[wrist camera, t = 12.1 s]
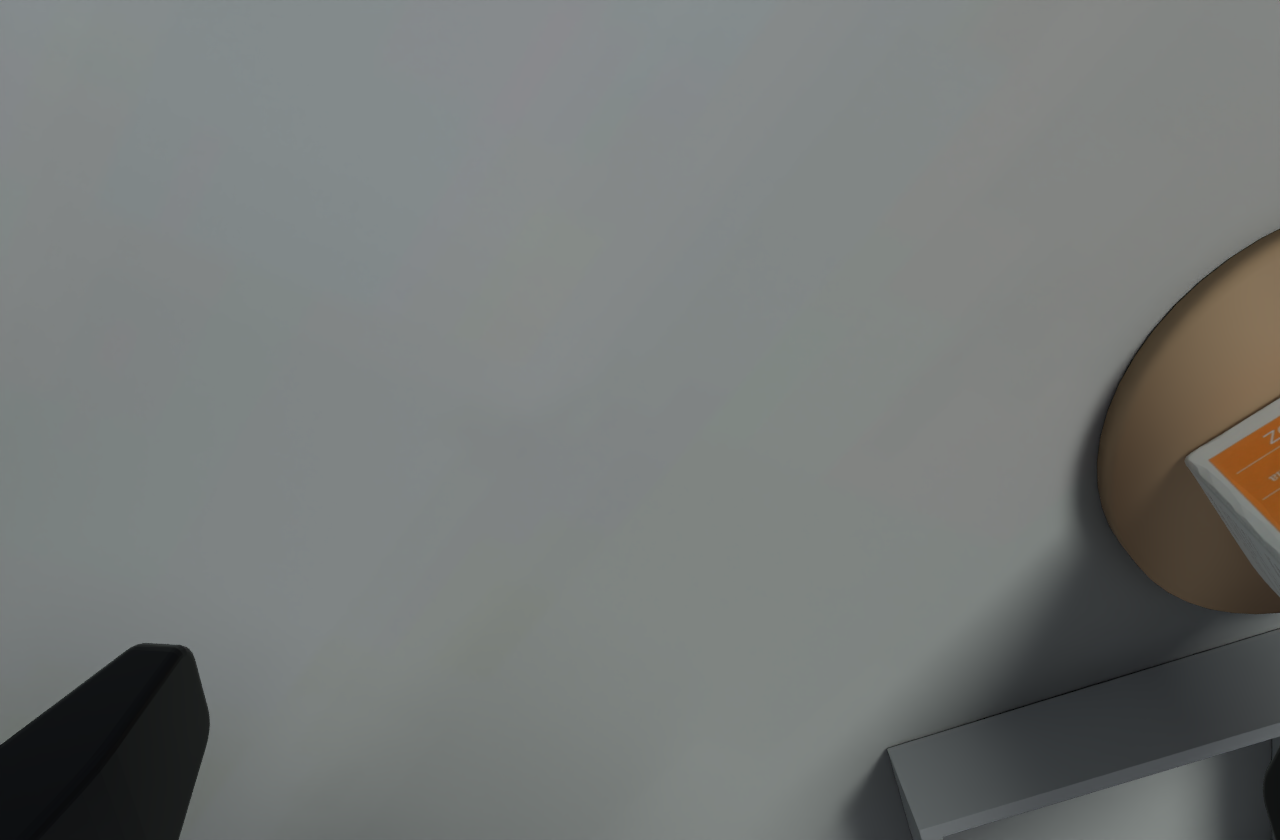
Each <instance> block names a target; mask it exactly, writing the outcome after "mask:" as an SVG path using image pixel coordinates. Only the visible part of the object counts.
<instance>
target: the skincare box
mask: <svg viewBox="0 0 1280 840" xmlns="http://www.w3.org/2000/svg"><path fill="white" fill-rule="evenodd" d="M1184 462H1185V464H1186V466H1187V467H1188V468H1189V470H1190V471H1191V473H1192V474H1193V475H1194V477H1195V478H1196V480H1197V481H1198V483H1199V484H1200V486H1201V488H1202V489H1203V491H1204V492H1205V494H1206V495H1207V497H1208V498H1209V500H1210V502H1211V503H1212V505H1213V506H1214V508H1215V509H1216V511H1217V513H1218V514H1219V516H1220V517H1221V519H1222V520H1223V522H1224V523H1225V525H1226V527H1227V528H1228V530H1229V531H1230V533H1231V534H1232V536H1233V537H1234V539H1235V540H1236V542H1237V543H1238V545H1239V546H1240V548H1241V549H1242V551H1243V552H1244V554H1245V555H1246V557H1247V558H1248V560H1249V561H1250V563H1251V565H1252V566H1253V567H1254V568H1255V570H1256V571H1257V572H1258V573H1259V575H1260V576H1261V577H1262V578H1263V580H1264V581H1265V582H1266V583H1267V584H1268V585H1269V586H1270V587H1271V589H1272V590H1273V591H1274V592H1275V593H1276V594H1277V595H1278V596H1279V597H1280V398H1279V399H1277V400H1276V401H1274V402H1272V403H1271V404H1269V405H1267V406H1266V407H1264V408H1263V409H1261V410H1259V411H1258V412H1256V413H1255V414H1253V415H1251V416H1250V417H1248V418H1246V419H1245V420H1243V421H1242V422H1240V423H1239V424H1237V425H1235V426H1234V427H1232V428H1231V429H1229V430H1227V431H1226V432H1224V433H1223V434H1221V435H1219V436H1218V437H1216V438H1214V439H1213V440H1211V441H1209V442H1208V443H1206V444H1204V445H1203V446H1201V447H1199V448H1198V449H1196V450H1195V451H1193V452H1191V453H1190V454H1189V455H1188V456H1186V458H1185V461H1184Z"/></svg>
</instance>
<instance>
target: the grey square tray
mask: <svg viewBox="0 0 1280 840" xmlns="http://www.w3.org/2000/svg"><path fill="white" fill-rule="evenodd" d="M1270 739H1272V759H1273V757H1274V756H1275V754H1276V752H1277V750H1278V748H1279V746H1280V629H1278V630H1274V631H1271V632H1268V633H1265V634H1261V635H1258V636H1255V637H1251V638H1248V639H1245V640H1242V641H1238V642H1235V643H1232V644H1229V645H1225V646H1222V647H1219V648H1215V649H1212V650H1209V651H1206V652H1202V653H1199V654H1196V655H1192V656H1189V657H1186V658H1183V659H1179V660H1176V661H1173V662H1170V663H1166V664H1163V665H1160V666H1156V667H1153V668H1150V669H1147V670H1143V671H1140V672H1137V673H1133V674H1130V675H1127V676H1124V677H1120V678H1117V679H1114V680H1111V681H1107V682H1104V683H1101V684H1097V685H1094V686H1091V687H1088V688H1084V689H1081V690H1078V691H1074V692H1071V693H1068V694H1065V695H1061V696H1058V697H1055V698H1052V699H1048V700H1045V701H1042V702H1038V703H1035V704H1032V705H1029V706H1025V707H1022V708H1019V709H1015V710H1012V711H1009V712H1006V713H1002V714H999V715H996V716H993V717H989V718H986V719H983V720H979V721H976V722H973V723H970V724H966V725H963V726H960V727H956V728H953V729H950V730H947V731H943V732H940V733H937V734H934V735H930V736H927V737H924V738H920V739H917V740H914V741H911V742H907V743H904V744H901V745H897V746H894V747H891V748H888V749H887V750H888V754H889V757H890V761H891V764H892V768H893V771H894V775H895V778H896V782H897V785H898V789H899V792H900V796H901V799H902V803H903V806H904V810H905V813H906V817H907V820H908V824H909V827H910V831H911V834H912V838H913V840H944V839H943V837H944V836H948V835H951V834H955V833H958V832H961V831H965V830H968V829H971V828H975V827H978V826H981V825H985V824H988V823H991V822H995V821H998V820H1001V819H1005V818H1008V817H1011V816H1015V815H1018V814H1022V813H1025V812H1028V811H1032V810H1035V809H1038V808H1042V807H1045V806H1048V805H1052V804H1055V803H1058V802H1062V801H1065V800H1068V799H1072V798H1075V797H1078V796H1082V795H1085V794H1089V793H1092V792H1095V791H1099V790H1102V789H1105V788H1109V787H1112V786H1115V785H1119V784H1122V783H1125V782H1129V781H1132V780H1135V779H1139V778H1142V777H1146V776H1149V775H1152V774H1156V773H1159V772H1162V771H1166V770H1169V769H1172V768H1176V767H1179V766H1182V765H1186V764H1189V763H1192V762H1196V761H1199V760H1202V759H1206V758H1209V757H1213V756H1216V755H1219V754H1223V753H1226V752H1229V751H1233V750H1236V749H1239V748H1243V747H1246V746H1249V745H1253V744H1256V743H1259V742H1263V741H1266V740H1270ZM1272 840H1275V838H1274V834H1273V831H1272Z"/></svg>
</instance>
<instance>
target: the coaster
mask: <svg viewBox="0 0 1280 840" xmlns="http://www.w3.org/2000/svg"><path fill="white" fill-rule="evenodd" d="M1279 398H1280V229H1279V230H1277V231H1275V232H1273V233H1271V234H1269V235H1267V236H1265V237H1263V238H1261V239H1260V240H1258V241H1257V242H1255V243H1253V244H1252V245H1250V246H1249V247H1247V248H1246V249H1244V250H1242V251H1241V252H1239V253H1238V254H1236V255H1235V256H1233V257H1231V258H1230V259H1229V260H1228V261H1226V262H1225V263H1224V264H1222V265H1221V266H1220V267H1218V268H1217V269H1216V270H1215V271H1213V272H1212V273H1211V274H1209V275H1208V276H1207V277H1206V278H1204V279H1203V280H1202V281H1201V282H1200V283H1199V284H1198V285H1196V286H1195V287H1194V288H1193V289H1192V290H1191V291H1190V292H1189V293H1188V294H1187V295H1186V296H1185V297H1184V298H1183V299H1182V300H1180V301H1179V302H1178V303H1177V304H1176V305H1175V306H1174V308H1173V309H1172V310H1171V311H1170V312H1169V313H1168V314H1167V316H1166V317H1165V318H1164V319H1163V320H1162V321H1161V322H1160V323H1159V325H1158V326H1157V327H1156V328H1155V329H1154V330H1153V332H1152V333H1151V335H1150V336H1149V337H1148V339H1147V340H1146V341H1145V343H1144V344H1143V346H1142V347H1141V348H1140V350H1139V351H1138V353H1137V354H1136V355H1135V357H1134V359H1133V360H1132V362H1131V364H1130V366H1129V367H1128V369H1127V371H1126V373H1125V374H1124V376H1123V378H1122V380H1121V382H1120V383H1119V385H1118V388H1117V390H1116V393H1115V395H1114V397H1113V400H1112V402H1111V404H1110V407H1109V409H1108V412H1107V415H1106V419H1105V423H1104V426H1103V430H1102V433H1101V437H1100V444H1099V452H1098V459H1097V478H1098V490H1099V495H1100V500H1101V505H1102V509H1103V511H1104V514H1105V516H1106V519H1107V521H1108V524H1109V526H1110V528H1111V530H1112V531H1113V533H1114V534H1115V536H1116V537H1117V539H1118V541H1119V542H1120V544H1121V545H1122V546H1123V547H1124V549H1125V550H1126V551H1127V553H1128V554H1129V555H1130V556H1131V558H1132V559H1133V560H1134V561H1135V563H1136V564H1137V565H1138V566H1139V567H1140V568H1141V569H1142V571H1143V572H1144V573H1145V574H1146V575H1147V576H1148V577H1149V578H1150V579H1151V580H1152V581H1153V582H1155V583H1156V584H1157V585H1159V586H1160V587H1162V588H1163V589H1164V590H1166V591H1167V592H1168V593H1170V594H1172V595H1174V596H1176V597H1178V598H1180V599H1182V600H1184V601H1186V602H1189V603H1192V604H1195V605H1198V606H1201V607H1205V608H1208V609H1212V610H1218V611H1224V612H1230V613H1245V614H1266V613H1280V597H1279V596H1278V595H1277V594H1276V593H1275V592H1274V591H1273V590H1272V589H1271V587H1270V586H1269V585H1268V584H1267V583H1266V582H1265V581H1264V580H1263V578H1262V577H1261V576H1260V575H1259V573H1258V572H1257V571H1256V570H1255V568H1254V567H1253V566H1252V565H1251V563H1250V561H1249V560H1248V558H1247V557H1246V555H1245V554H1244V552H1243V551H1242V549H1241V548H1240V546H1239V545H1238V543H1237V542H1236V540H1235V539H1234V537H1233V536H1232V534H1231V533H1230V531H1229V530H1228V528H1227V527H1226V525H1225V523H1224V522H1223V520H1222V519H1221V517H1220V516H1219V514H1218V513H1217V511H1216V509H1215V508H1214V506H1213V505H1212V503H1211V502H1210V500H1209V498H1208V497H1207V495H1206V494H1205V492H1204V491H1203V489H1202V488H1201V486H1200V484H1199V483H1198V481H1197V480H1196V478H1195V477H1194V475H1193V474H1192V473H1191V471H1190V470H1189V468H1188V467H1187V466H1186V464H1185V462H1184V461H1185V458H1186V456H1188V455H1189V454H1190V453H1191V452H1193V451H1195V450H1196V449H1198V448H1199V447H1201V446H1203V445H1204V444H1206V443H1208V442H1209V441H1211V440H1213V439H1214V438H1216V437H1218V436H1219V435H1221V434H1223V433H1224V432H1226V431H1227V430H1229V429H1231V428H1232V427H1234V426H1235V425H1237V424H1239V423H1240V422H1242V421H1243V420H1245V419H1246V418H1248V417H1250V416H1251V415H1253V414H1255V413H1256V412H1258V411H1259V410H1261V409H1263V408H1264V407H1266V406H1267V405H1269V404H1271V403H1272V402H1274V401H1276V400H1277V399H1279Z"/></svg>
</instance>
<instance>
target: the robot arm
mask: <svg viewBox="0 0 1280 840" xmlns="http://www.w3.org/2000/svg"><path fill="white" fill-rule="evenodd" d="M209 726H210V719H209V711H208V707H207V703H206V699H205V695H204V692H203V688H202V684H201V680H200V676H199V673H198V669H197V665H196V661H195V658H194V656H193V653H192V652H191V651H190V650H189V649H188V648H187V647H185V646H182V645H170V644H153V643H142V644H138V645H135V646H133V647H131V648H130V649H128V650H126V651H125V652H124V653H122V654H121V655H120V656H118V657H117V658H116V659H114V660H113V661H112V662H110V663H109V664H108V665H106V666H105V667H104V668H102V669H101V670H100V671H98V672H97V673H96V674H94V675H93V676H92V677H90V678H89V679H88V680H86V681H85V682H84V683H82V684H81V685H80V686H79V687H77V688H76V689H75V690H73V691H72V692H71V693H69V694H68V695H67V696H65V697H64V698H63V699H61V700H60V701H59V702H57V703H56V704H55V705H53V706H52V707H51V708H49V709H48V710H47V711H45V712H44V713H43V714H41V715H40V716H39V717H37V718H36V719H35V720H33V721H32V722H31V723H29V724H28V725H27V726H25V727H24V728H23V729H21V730H20V731H19V732H17V733H16V734H15V735H13V736H12V737H11V738H9V739H8V740H7V741H5V742H4V743H3V744H1V745H0V840H179V837H180V833H181V830H182V826H183V823H184V820H185V816H186V813H187V809H188V806H189V803H190V799H191V796H192V792H193V789H194V786H195V782H196V779H197V775H198V772H199V769H200V765H201V762H202V758H203V755H204V752H205V748H206V745H207V741H208V735H209ZM1263 794H1264V802H1265V806H1266V810H1267V813H1268V817H1269V820H1270V824H1271V827H1272V831H1273V834H1274V838H1275V840H1280V746H1279V748H1278V750H1277V752H1276V754H1275V756H1274V757H1273V759H1272V761H1271V763H1270V765H1269V767H1268V769H1267V771H1266V773H1265V778H1264V783H1263Z"/></svg>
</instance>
